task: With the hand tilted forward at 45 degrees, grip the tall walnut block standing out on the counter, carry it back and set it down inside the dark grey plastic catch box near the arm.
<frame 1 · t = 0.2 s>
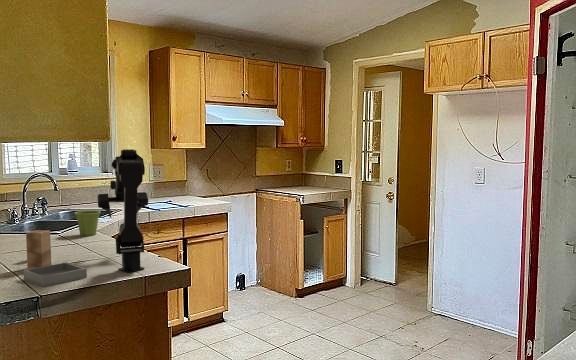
hand: (122, 216, 199), 15 cm above the counter, tool tilted 30°, fingers open, 9 cm apart
plant pot: (88, 235, 240), on the counter
walnut block: (39, 267, 175), on the counter
catch box: (55, 278, 161), on the counter
pill bottle: (42, 259, 189), on the counter
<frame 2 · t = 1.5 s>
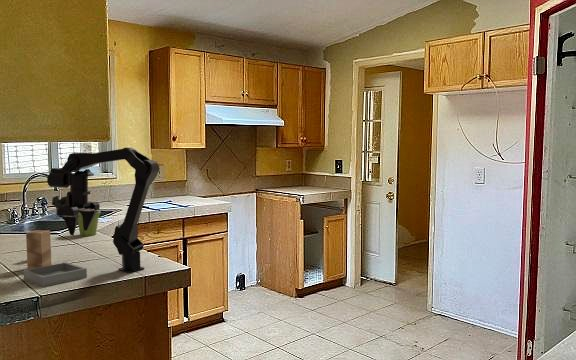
hand: (78, 232, 173), 13 cm above the counter, tool pointing down, fingers open, 9 cm apart
nothing on the counter moved.
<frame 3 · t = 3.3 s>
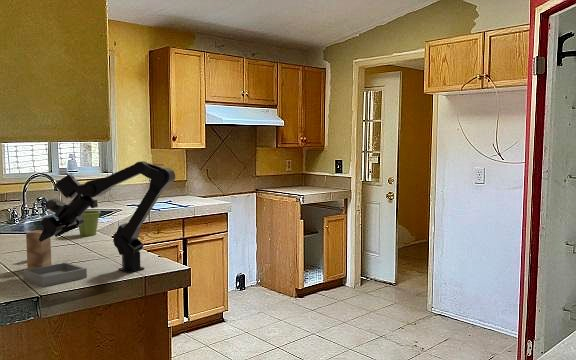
hand: (47, 238, 174), 11 cm above the counter, tool tilted 45°, fingers open, 9 cm apart
nothing on the counter moved.
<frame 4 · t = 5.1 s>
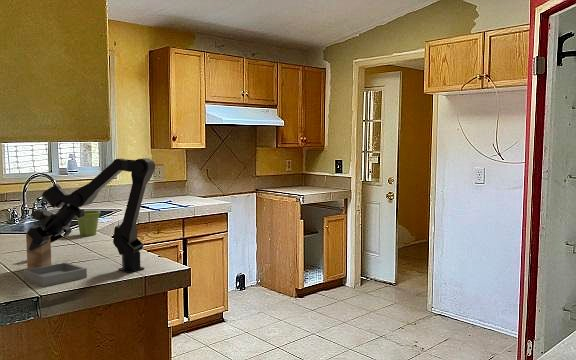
hand: (35, 248, 175), 7 cm above the counter, tool tilted 45°, fingers closed on walnut block, 5 cm apart
walnut block: (39, 267, 175), on the counter, touching gripper
everything else where it was.
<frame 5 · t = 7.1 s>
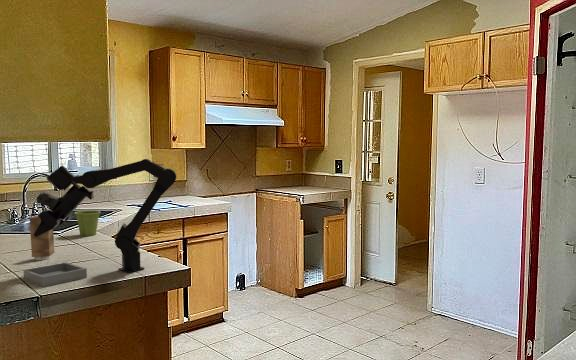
hand: (37, 234, 165), 14 cm above the counter, tool tilted 45°, fingers closed on walnut block, 5 cm apart
walnut block: (43, 254, 166), point 7 cm above the counter, touching gripper
everything else where it was.
when the fingers open (9 cm above the counter, at t = 9.3 s): walnut block drops 1 cm, resting on catch box.
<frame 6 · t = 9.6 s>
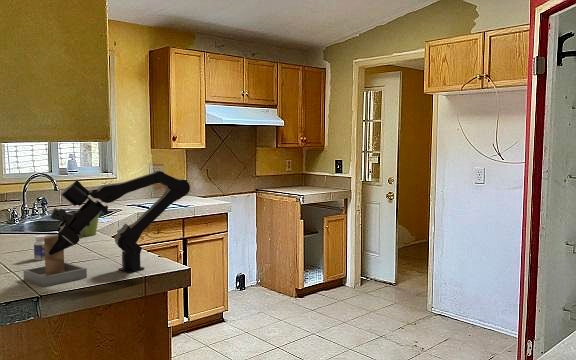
hand: (49, 251, 160), 9 cm above the counter, tool tilted 45°, fingers open, 9 cm apart
walnut block: (55, 275, 161), point 1 cm above the counter, touching catch box
everything else where it was.
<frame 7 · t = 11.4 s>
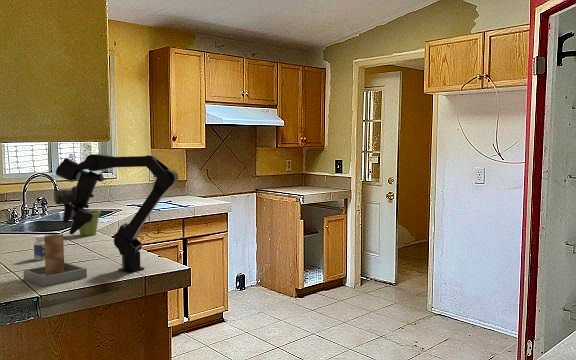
hand: (67, 228, 171), 15 cm above the counter, tool tilted 25°, fingers open, 9 cm apart
nothing on the counter moved.
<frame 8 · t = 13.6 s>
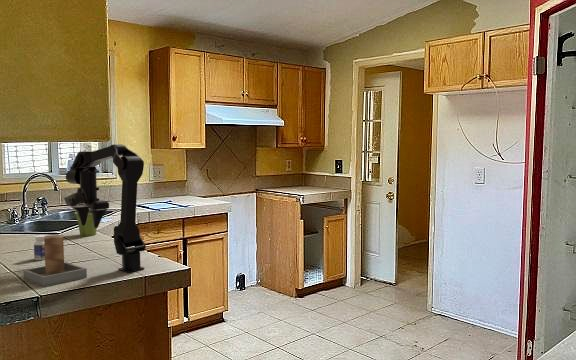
hand: (89, 226, 185), 13 cm above the counter, tool pointing down, fingers open, 9 cm apart
nothing on the counter moved.
at the end: walnut block inside the target area on the catch box (0.0 cm from its centre), point 0.8 cm above the catch box's base; the gripper is holding nothing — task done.
